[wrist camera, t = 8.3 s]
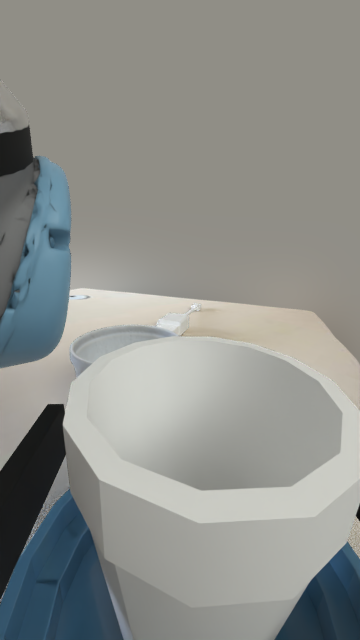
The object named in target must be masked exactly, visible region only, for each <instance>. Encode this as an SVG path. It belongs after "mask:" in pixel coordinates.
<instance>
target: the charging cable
mask: <svg viewBox="0 0 360 640" xmlns="http://www.w3.org/2000/svg"><path fill="white" fill-rule="evenodd" d="M200 309H201V304H198V303H194V304H192V305H191V309H190V310H189V311H187V312H186V313H185V314H177V313H169V314H167V315H165V316H164V317H162V318H160V319H159V320H158V323H157V325H156V327H161V328H164V329H168V330H170V331H172V332H174V333H176V334H178V335H179V336H181V335H182V334H183V333H184V332H185V331H186V330H187V329H188V328H189V316H188V315H189V314H191V313H192V312H193V311H194V310H195V311H199V310H200Z"/></svg>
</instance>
